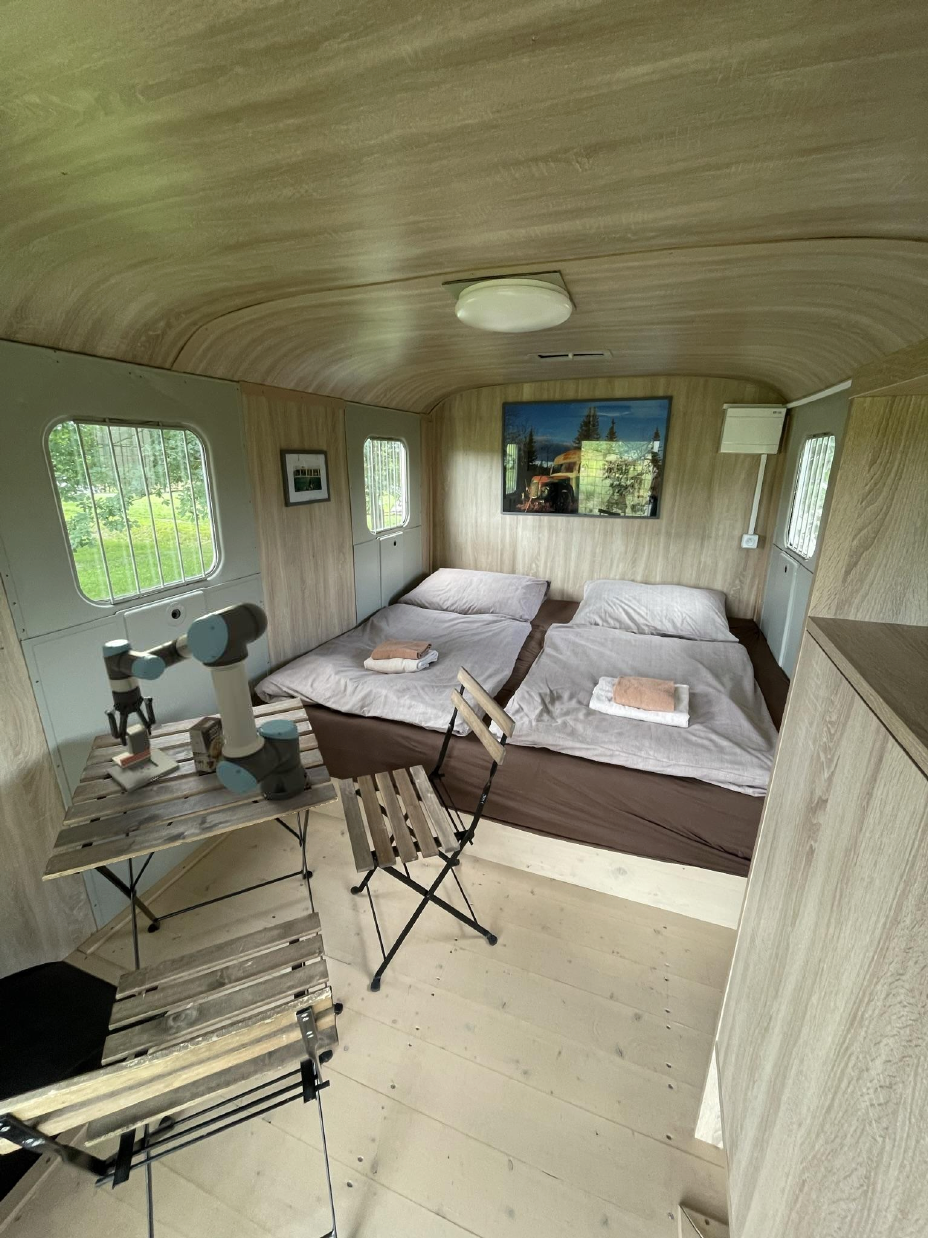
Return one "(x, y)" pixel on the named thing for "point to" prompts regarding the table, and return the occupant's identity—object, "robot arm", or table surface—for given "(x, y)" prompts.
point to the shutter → (130, 758)
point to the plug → (138, 739)
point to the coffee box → (207, 743)
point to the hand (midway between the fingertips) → (138, 748)
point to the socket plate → (143, 770)
